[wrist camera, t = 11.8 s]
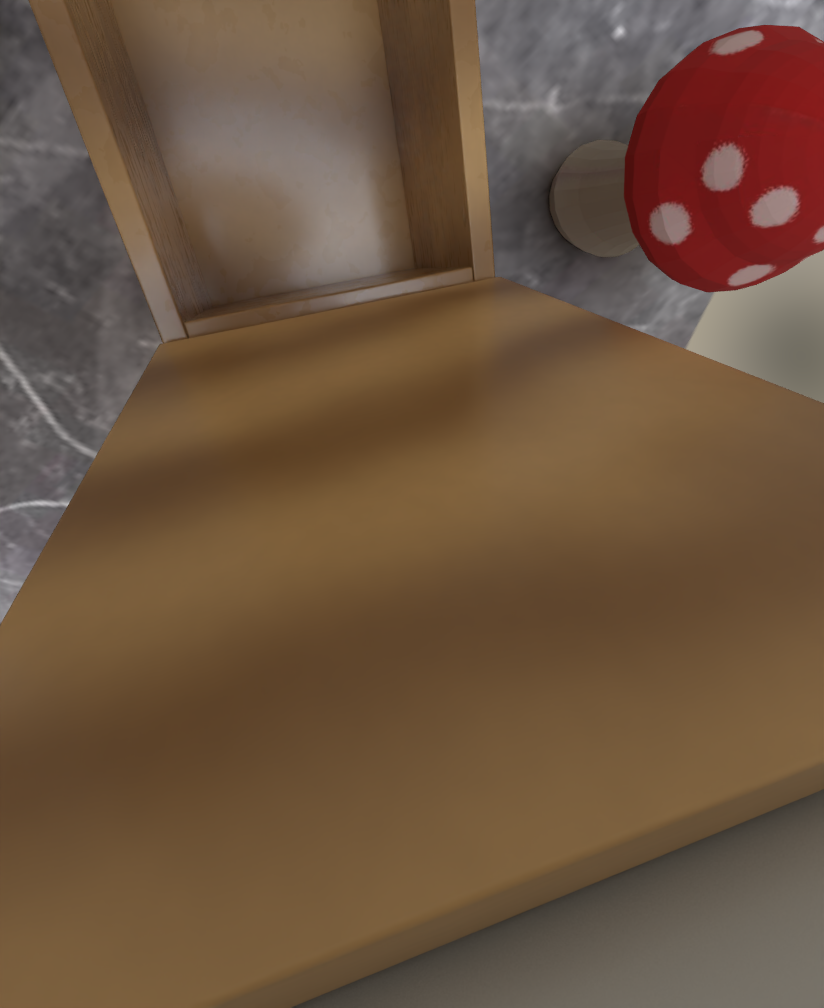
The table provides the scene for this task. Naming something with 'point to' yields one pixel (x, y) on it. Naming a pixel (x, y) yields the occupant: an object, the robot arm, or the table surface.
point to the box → (281, 149)
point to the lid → (398, 645)
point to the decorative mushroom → (711, 166)
